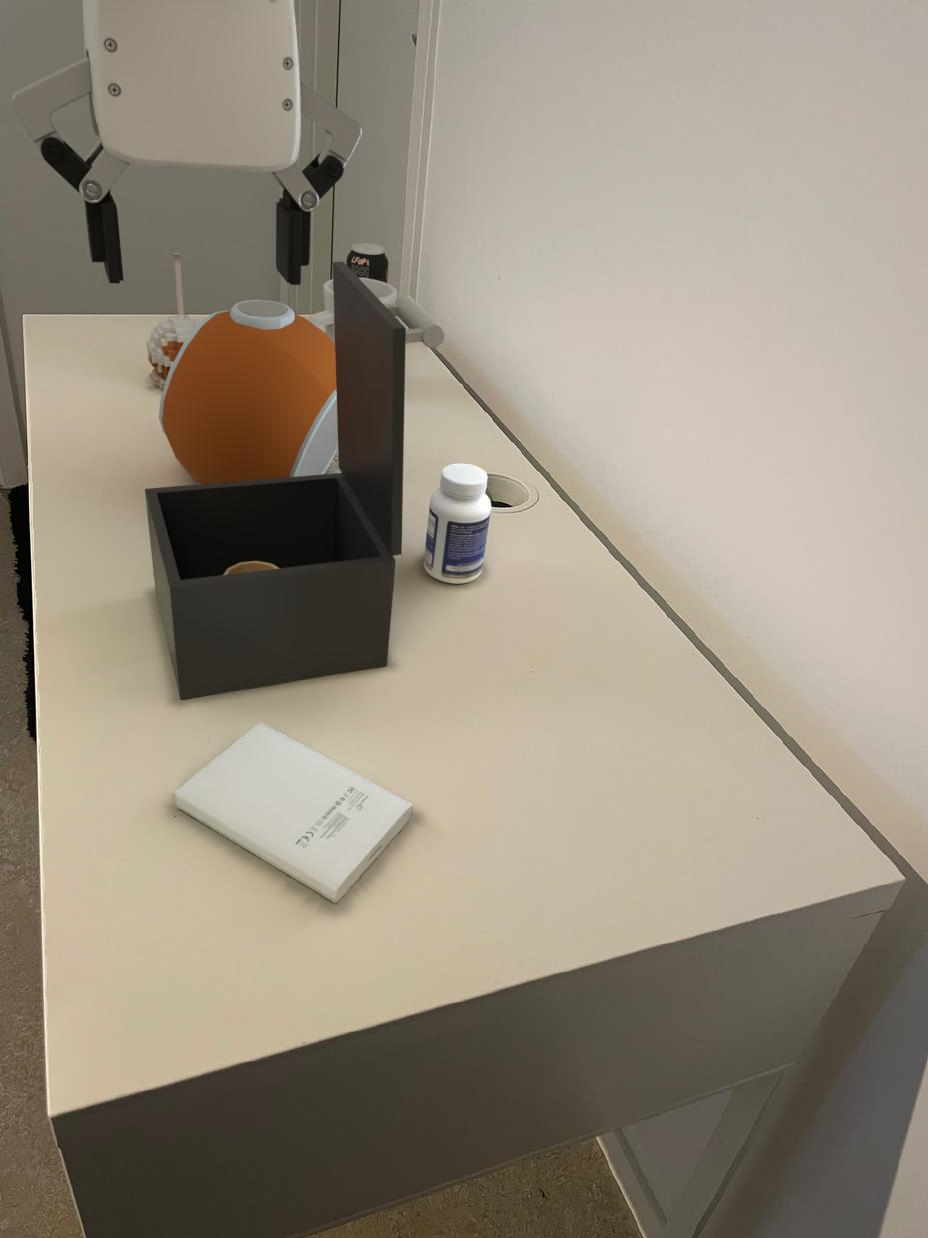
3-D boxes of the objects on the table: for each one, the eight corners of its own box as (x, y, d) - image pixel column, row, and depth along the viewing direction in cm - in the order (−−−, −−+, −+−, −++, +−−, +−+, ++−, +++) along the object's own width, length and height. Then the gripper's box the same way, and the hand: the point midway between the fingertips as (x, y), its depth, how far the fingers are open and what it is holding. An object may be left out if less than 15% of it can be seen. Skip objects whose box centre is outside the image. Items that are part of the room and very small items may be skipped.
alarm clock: (230, 424, 101) (223, 264, 91) (376, 459, 98) (386, 298, 88) (133, 498, 86) (112, 317, 76) (303, 542, 83) (305, 360, 73)
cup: (370, 408, 109) (375, 309, 102) (301, 391, 111) (302, 292, 104) (401, 380, 117) (408, 286, 110) (337, 365, 119) (340, 271, 112)
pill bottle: (492, 567, 83) (507, 473, 78) (461, 592, 80) (475, 495, 74) (444, 546, 85) (455, 452, 80) (411, 569, 82) (421, 473, 76)
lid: (393, 328, 54) (468, 322, 56) (332, 261, 64) (397, 257, 66) (391, 556, 64) (455, 545, 66) (338, 468, 74) (395, 460, 76)
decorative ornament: (160, 398, 104) (148, 264, 96) (145, 373, 110) (132, 244, 101) (226, 393, 108) (221, 263, 99) (209, 368, 113) (202, 243, 104)
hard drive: (261, 736, 63) (411, 818, 58) (175, 809, 57) (334, 906, 52) (261, 719, 62) (413, 801, 57) (173, 791, 56) (335, 889, 51)
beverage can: (373, 326, 133) (378, 240, 126) (390, 339, 129) (396, 252, 122) (337, 328, 130) (340, 241, 123) (353, 342, 126) (357, 253, 119)
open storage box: (180, 700, 64) (169, 588, 59) (155, 593, 74) (144, 488, 69) (387, 666, 70) (396, 560, 64) (339, 571, 80) (343, 472, 74)
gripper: (347, -79, 47) (333, 260, 57) (-24, -142, 40) (33, 254, 50) (394, -75, 42) (370, 299, 52) (-25, -147, 35) (40, 298, 45)
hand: (204, 276), depth 51 cm, fingers open, 9 cm apart
